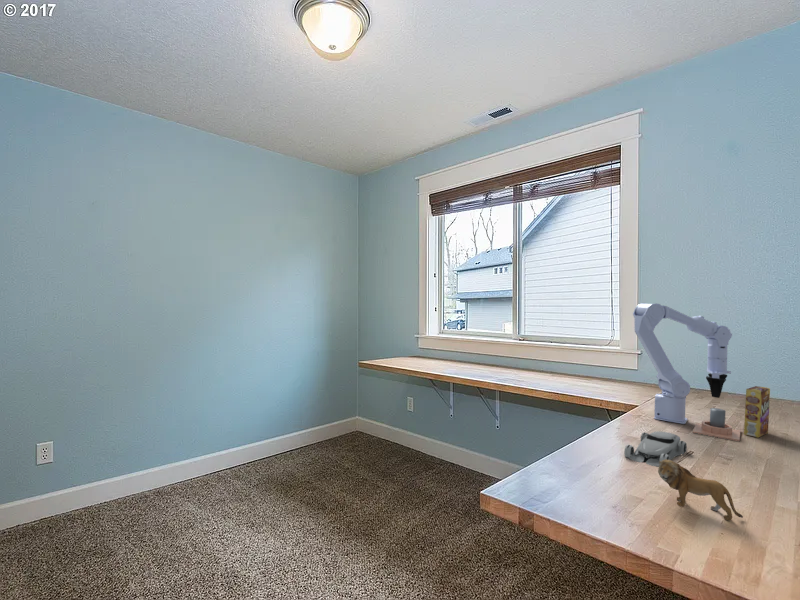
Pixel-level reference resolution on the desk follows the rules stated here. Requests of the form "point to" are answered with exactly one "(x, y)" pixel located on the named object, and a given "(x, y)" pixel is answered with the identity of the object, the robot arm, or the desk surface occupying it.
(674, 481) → the lion figurine
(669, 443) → the car model
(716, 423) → the tube
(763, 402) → the candy box
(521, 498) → the desk surface
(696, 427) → the tube holder
